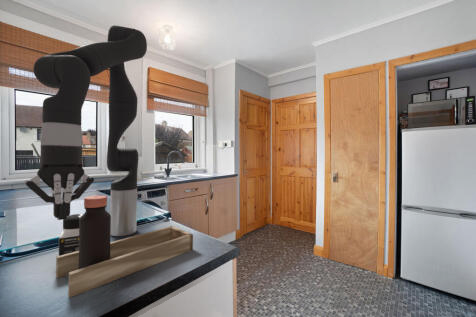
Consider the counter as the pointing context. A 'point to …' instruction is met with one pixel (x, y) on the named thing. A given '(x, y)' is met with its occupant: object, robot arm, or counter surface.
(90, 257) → the vinegar
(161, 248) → the u rest
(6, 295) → the counter surface
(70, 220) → the medicine bottle
